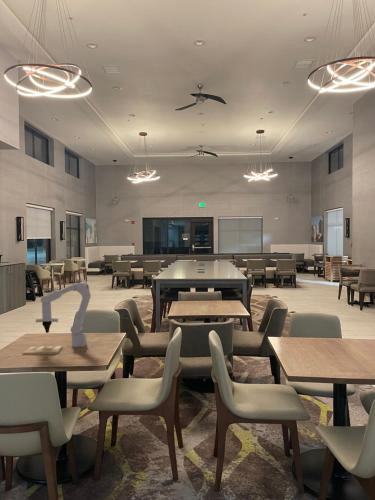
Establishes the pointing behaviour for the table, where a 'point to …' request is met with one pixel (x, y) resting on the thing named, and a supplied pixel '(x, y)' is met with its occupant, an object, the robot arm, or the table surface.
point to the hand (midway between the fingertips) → (47, 332)
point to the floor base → (41, 352)
